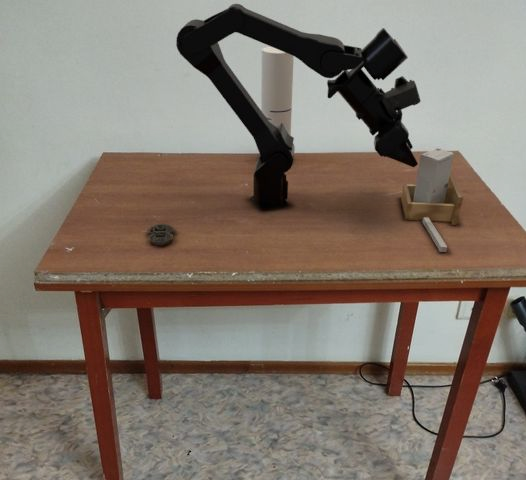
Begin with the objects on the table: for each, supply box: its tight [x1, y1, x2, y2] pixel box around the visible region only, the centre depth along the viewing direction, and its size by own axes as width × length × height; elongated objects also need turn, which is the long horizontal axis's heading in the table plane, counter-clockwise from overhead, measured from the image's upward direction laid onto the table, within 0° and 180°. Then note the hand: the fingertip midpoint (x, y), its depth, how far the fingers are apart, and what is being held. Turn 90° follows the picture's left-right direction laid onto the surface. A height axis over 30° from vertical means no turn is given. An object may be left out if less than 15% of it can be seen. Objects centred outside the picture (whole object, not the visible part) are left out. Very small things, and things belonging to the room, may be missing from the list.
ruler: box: [421, 217, 448, 253], centre depth 115 cm, size 12×1×1 cm, turn 4°
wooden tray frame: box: [400, 171, 464, 226], centre depth 123 cm, size 10×13×6 cm
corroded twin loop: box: [147, 223, 175, 246], centre depth 114 cm, size 5×8×1 cm, turn 8°
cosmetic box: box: [412, 147, 455, 204], centre depth 121 cm, size 6×4×12 cm
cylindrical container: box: [260, 46, 295, 136], centre depth 139 cm, size 7×7×25 cm
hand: (413, 157), depth 118 cm, fingers open, 9 cm apart
